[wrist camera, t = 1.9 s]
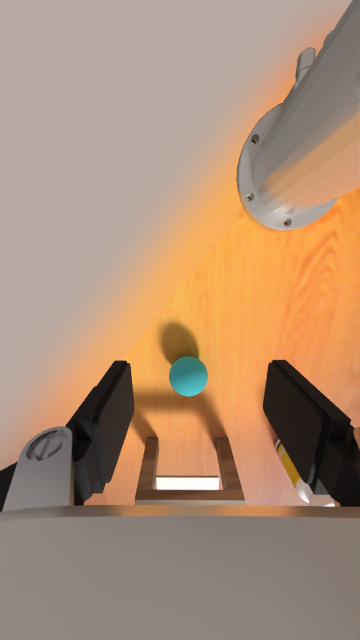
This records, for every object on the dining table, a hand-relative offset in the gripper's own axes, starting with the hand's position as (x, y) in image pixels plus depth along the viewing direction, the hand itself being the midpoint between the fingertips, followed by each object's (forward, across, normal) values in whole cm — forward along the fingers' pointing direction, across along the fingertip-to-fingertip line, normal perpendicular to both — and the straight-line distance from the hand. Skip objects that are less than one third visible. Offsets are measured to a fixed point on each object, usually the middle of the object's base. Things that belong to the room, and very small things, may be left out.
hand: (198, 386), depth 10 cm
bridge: (+18, 0, +25) cm, 31 cm away
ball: (+15, 0, +9) cm, 17 cm away
